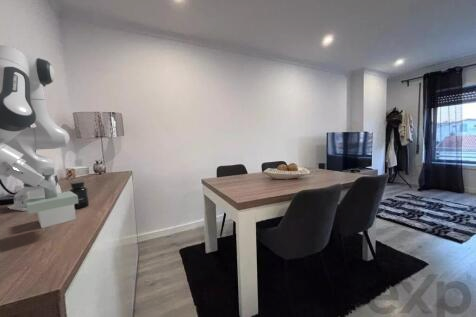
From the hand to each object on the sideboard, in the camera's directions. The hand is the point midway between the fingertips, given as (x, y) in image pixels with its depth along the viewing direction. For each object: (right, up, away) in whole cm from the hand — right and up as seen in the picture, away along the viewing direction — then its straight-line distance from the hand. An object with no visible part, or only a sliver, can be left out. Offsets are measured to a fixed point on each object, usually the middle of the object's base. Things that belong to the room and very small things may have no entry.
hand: (52, 187), depth 69 cm
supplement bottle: (-12, -14, +28) cm, 33 cm away
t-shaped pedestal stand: (0, -6, 0) cm, 6 cm away
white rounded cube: (-9, -15, +12) cm, 21 cm away
